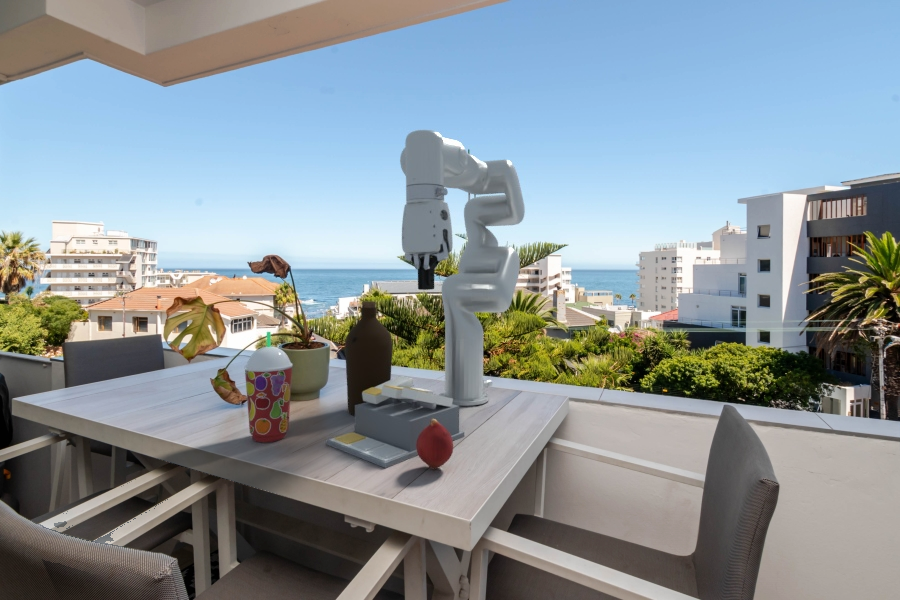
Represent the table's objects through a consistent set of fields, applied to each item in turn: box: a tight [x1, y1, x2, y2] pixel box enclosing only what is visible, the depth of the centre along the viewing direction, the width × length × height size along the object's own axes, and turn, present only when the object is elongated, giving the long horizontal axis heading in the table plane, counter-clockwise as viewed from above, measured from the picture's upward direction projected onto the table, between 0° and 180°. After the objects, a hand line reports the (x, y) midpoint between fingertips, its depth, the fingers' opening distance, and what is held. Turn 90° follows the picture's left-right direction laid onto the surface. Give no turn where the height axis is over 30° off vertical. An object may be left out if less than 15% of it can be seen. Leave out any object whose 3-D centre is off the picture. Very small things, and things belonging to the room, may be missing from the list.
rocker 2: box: [381, 385, 434, 404], centre depth 87 cm, size 10×4×3 cm, turn 140°
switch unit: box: [325, 398, 465, 469], centre depth 85 cm, size 20×16×7 cm
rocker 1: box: [362, 375, 415, 404], centre depth 90 cm, size 10×4×3 cm, turn 139°
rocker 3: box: [401, 387, 453, 409], centre depth 84 cm, size 10×4×3 cm, turn 140°
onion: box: [416, 419, 454, 470], centre depth 72 cm, size 6×6×8 cm
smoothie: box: [244, 331, 293, 443], centre depth 86 cm, size 8×8×20 cm
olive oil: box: [344, 300, 393, 416], centre depth 104 cm, size 11×11×25 cm
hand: (426, 289), depth 92 cm, fingers closed
